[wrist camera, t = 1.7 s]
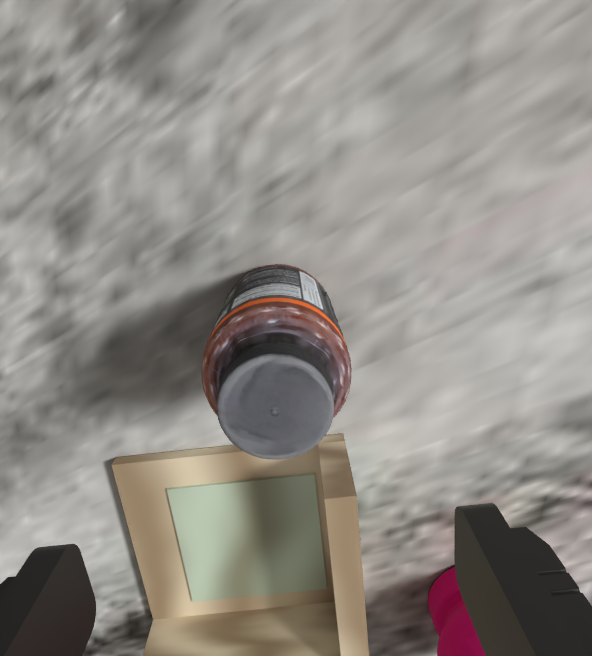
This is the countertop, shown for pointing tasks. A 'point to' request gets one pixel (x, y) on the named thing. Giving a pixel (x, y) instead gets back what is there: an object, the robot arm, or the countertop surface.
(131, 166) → the countertop surface
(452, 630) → the pepper mill
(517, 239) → the countertop surface
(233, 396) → the supplement bottle
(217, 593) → the tray
